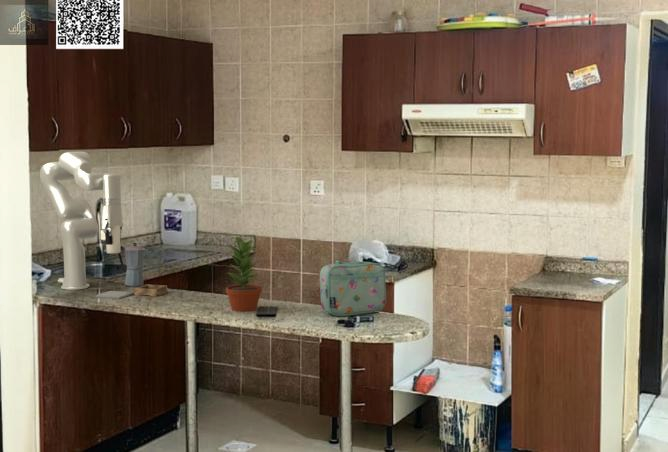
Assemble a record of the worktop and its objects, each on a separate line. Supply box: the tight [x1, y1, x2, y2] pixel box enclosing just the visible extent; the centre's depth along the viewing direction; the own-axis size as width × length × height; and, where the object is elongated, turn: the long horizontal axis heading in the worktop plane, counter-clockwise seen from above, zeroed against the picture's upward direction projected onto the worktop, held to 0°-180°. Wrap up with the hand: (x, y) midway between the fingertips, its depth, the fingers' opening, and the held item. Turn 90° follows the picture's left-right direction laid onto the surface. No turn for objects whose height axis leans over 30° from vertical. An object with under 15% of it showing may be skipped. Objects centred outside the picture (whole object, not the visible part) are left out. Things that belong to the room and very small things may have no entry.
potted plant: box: [225, 235, 263, 312], centre depth 403 cm, size 15×15×30 cm
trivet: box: [94, 290, 135, 300], centre depth 436 cm, size 12×12×1 cm
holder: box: [134, 284, 168, 297], centre depth 440 cm, size 10×10×3 cm
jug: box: [100, 225, 122, 254], centre depth 434 cm, size 9×6×12 cm
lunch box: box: [319, 260, 387, 317], centre depth 394 cm, size 27×10×21 cm, turn 114°
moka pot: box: [117, 242, 148, 288], centre depth 462 cm, size 10×15×20 cm, turn 78°
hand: (113, 243), depth 434 cm, fingers closed on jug, 6 cm apart
